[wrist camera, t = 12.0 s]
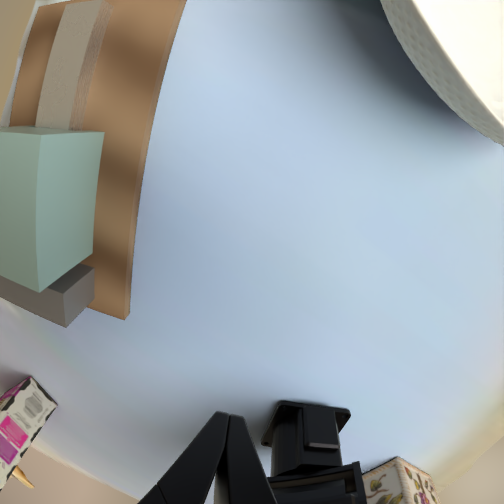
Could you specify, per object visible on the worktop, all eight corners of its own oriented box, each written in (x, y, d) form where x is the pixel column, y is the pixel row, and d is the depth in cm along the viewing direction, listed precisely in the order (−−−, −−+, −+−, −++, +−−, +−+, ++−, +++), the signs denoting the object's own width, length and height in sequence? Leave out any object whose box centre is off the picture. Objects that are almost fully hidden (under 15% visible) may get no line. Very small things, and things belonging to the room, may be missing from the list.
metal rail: (72, 290, 20) (62, 300, 19) (43, 279, 20) (32, 287, 19) (113, 6, 13) (102, -1, 12) (78, 10, 13) (66, 4, 12)
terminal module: (92, 253, 19) (39, 292, 13) (26, 232, 19) (-28, 261, 13) (104, 132, 16) (41, 134, 11) (32, 125, 16) (-30, 130, 11)
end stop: (94, 298, 20) (66, 327, 17) (26, 272, 20) (-5, 294, 16) (94, 267, 19) (62, 294, 16) (24, 244, 19) (-10, 263, 16)
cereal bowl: (563, 94, 13) (618, 97, 6) (456, 195, 17) (524, 224, 10) (447, -74, 9) (483, -111, 2) (296, -19, 13) (304, -83, 7)
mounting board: (129, 313, 22) (124, 320, 21) (15, 270, 21) (8, 275, 21) (187, -2, 14) (183, -8, 13) (46, 10, 14) (39, 7, 13)
